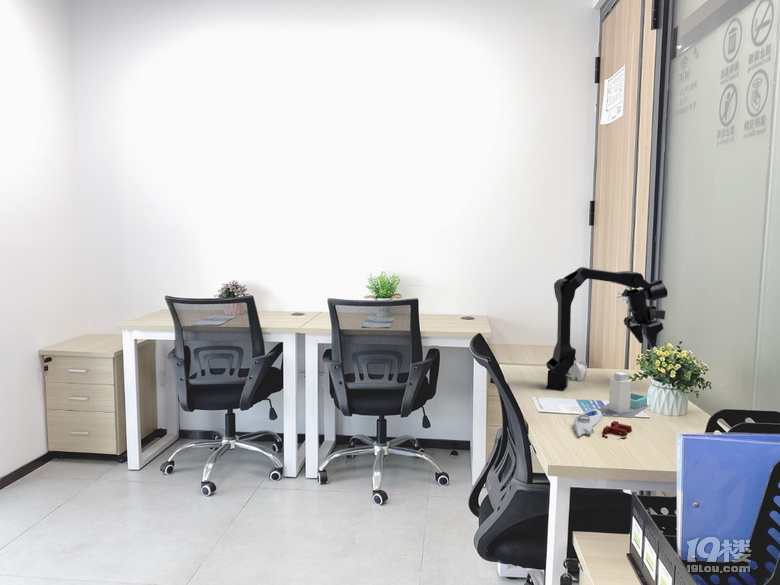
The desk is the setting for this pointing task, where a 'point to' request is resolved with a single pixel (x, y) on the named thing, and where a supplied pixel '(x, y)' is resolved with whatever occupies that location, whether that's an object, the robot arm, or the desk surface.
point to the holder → (637, 400)
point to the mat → (627, 414)
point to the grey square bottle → (620, 393)
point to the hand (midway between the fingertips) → (647, 345)
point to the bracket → (617, 429)
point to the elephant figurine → (578, 371)
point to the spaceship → (587, 422)
